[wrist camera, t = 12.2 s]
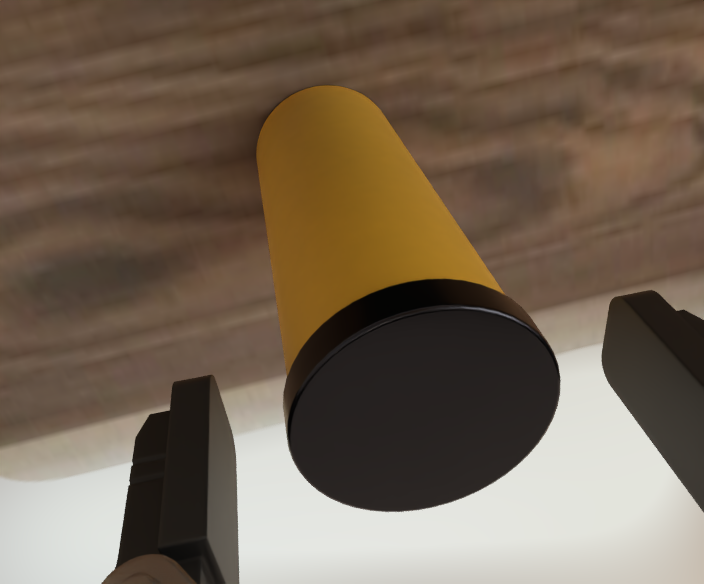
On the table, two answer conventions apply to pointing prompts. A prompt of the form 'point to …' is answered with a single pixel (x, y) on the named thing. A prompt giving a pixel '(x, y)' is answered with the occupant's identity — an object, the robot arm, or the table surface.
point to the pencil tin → (389, 318)
